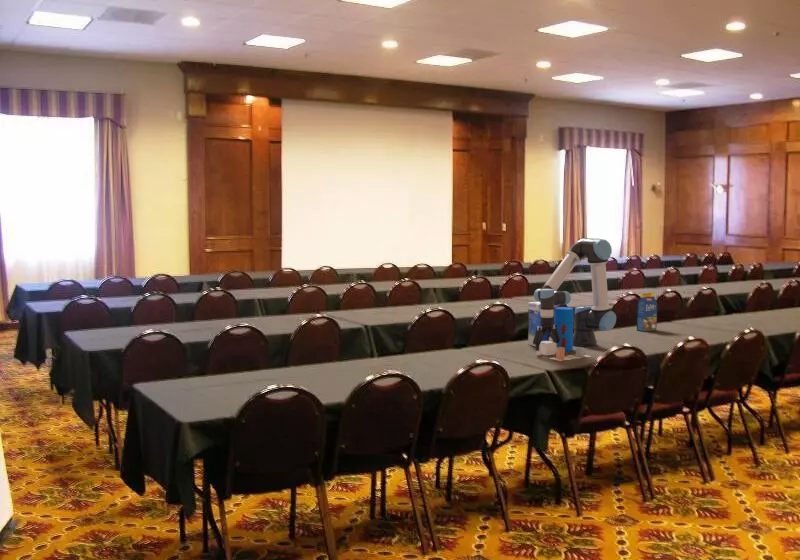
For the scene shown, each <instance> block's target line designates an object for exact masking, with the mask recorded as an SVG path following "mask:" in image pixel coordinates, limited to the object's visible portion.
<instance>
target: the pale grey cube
mask: <svg viewBox="0 0 800 560" xmlns="http://www.w3.org/2000/svg"><path fill="white" fill-rule="evenodd" d="M575 354H576V356H579V357H582V356H584V355H585V348H580V347H579V348H576V349H575Z"/></svg>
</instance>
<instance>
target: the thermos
mask: <svg viewBox="0 0 800 560" xmlns="http://www.w3.org/2000/svg"><path fill="white" fill-rule="evenodd" d="M574 313H575V310H574V308H573V307H568V306H566V307H565V306H563V307H562V306H558V307H554V316H553V318H554V323H553V325H557V330H558V334H559V337H560V341H559V343H557V347H564V348H565V353H566V352H572V351H573V349H574V345H573V334H574Z"/></svg>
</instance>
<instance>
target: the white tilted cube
mask: <svg viewBox="0 0 800 560" xmlns="http://www.w3.org/2000/svg"><path fill="white" fill-rule="evenodd" d="M540 345H541V356H542V355H543V356H552V355H556V353H555V342H553V341H550V340H549V341H541V343H540Z"/></svg>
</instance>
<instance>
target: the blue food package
mask: <svg viewBox="0 0 800 560" xmlns="http://www.w3.org/2000/svg"><path fill="white" fill-rule="evenodd" d="M636 306H637V309H636V310H637V311H636V331H639V332H653V331H657V328H658V327H657V325H658V324H657V323H658V322H657V321H658V320H657V319H658V301H657V299H656V297H655V292H644V293H643V292H642V293H640V298H639V300H638V301H637V305H636Z"/></svg>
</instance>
